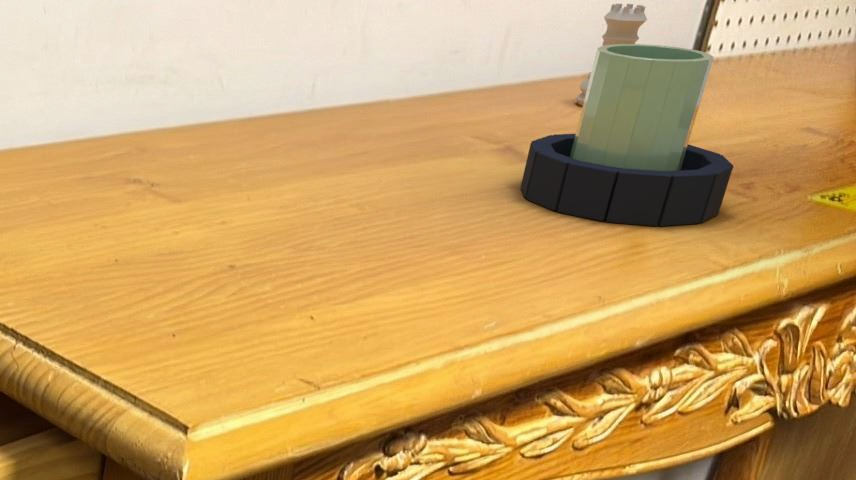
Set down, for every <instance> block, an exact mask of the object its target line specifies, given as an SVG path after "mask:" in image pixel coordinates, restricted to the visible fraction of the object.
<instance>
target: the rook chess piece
mask: <svg viewBox="0 0 856 480" xmlns="http://www.w3.org/2000/svg"><path fill="white" fill-rule="evenodd" d="M645 10H646V6H644V5H643V4H637V5H636V6H635V7H634V3H626V5H625V6H623V3H612V4H611V7H610V11H608V12H607V13H606V14H605V15H604V16H603V19H604V21H605V24H606V25H607V26H606V31H605V33H604V34H603V35H601V38H602V39H603V41H602V45H601V46H604V45H613V44H636V42H637V41H639V39H640V37H639V36H638V35H639V34H638V32H639V29H640V27H642V25H644V23H646V21H648V18H647V16H646V14H645ZM587 74H588V76H587V77H586V78H585V79H584V80H582V81H581V83H580V85H579V90H580V91H581V93H580V94H578V95H576V97H575V99H576V101H577V104H578V105H579V106H580V107H583V103H584V99H585V95H586V91H587V87H588V83H589V79H590V75H591V71H590V72H588V73H587Z"/></svg>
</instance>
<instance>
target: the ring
mask: <svg viewBox="0 0 856 480" xmlns="http://www.w3.org/2000/svg"><path fill="white" fill-rule="evenodd" d="M575 135H576V133H560V134H559V133H558V134H549V135H546V136H543V137H540V138H537V139H534V140H531V142H530V145H529V149H528V153H527V158H526V162H525V166H524V170H523V174H522V179H521V184H520V190H521V192H522V195H523V196H524V199H526V200H527V201H529V202H532V203H534V204H536V205H539V206H541V207H543V208H547V209H548V210H550V211H554V212H557V213H561V214H565V215H570V216H574V217H579V218H584V219H588V220H593V221H597V222H598V221H599V222H604V221H605V222H606V223H610V224H625V225H635V226H636V225H637V226H648V227H657V226H658V227H669V226H682V225H683V226H684V225H697V224H699V225H700V224H702V223H705V222H707V221H708V220H710V219H712V218H714V217H716V216H718V215H719V213H720V210H721V207H722V204H723V201H724V197H725V195H726V192H727V188H728V185H729V181H730V178H731V175H732V172H733V169H734V164H733V163H731V162H730V161H729V160H728V159H727V158H726V157H725V156H724V155H723V154H721V153H718V152H716V151H711V150H709V149H705V148H701V147H699V146H695V145H692V144H689V143H688V145H687V149H686V152H685V156H684V159H683V162H682V166H681V169H680V171H652V170H639V169H625V168H616V167H611V166H605V165H599V164H594V163H588V162H583V161H578V160H576V159H573V158H570V155H571V151H572V147H573V143H574V139H575Z"/></svg>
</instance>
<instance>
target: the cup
mask: <svg viewBox="0 0 856 480" xmlns="http://www.w3.org/2000/svg"><path fill="white" fill-rule="evenodd" d="M714 58H715V57H714V56H713V55H712V54H710V53H708V52H705V51H701V50H698V49H691V48H686V47H679V46H670V45H659V44H658V45H657V44H644V43H643V44H640V43H639V44H638V43H635V44H613V45H604V46H602V45H601V46H599V47H597V49H596V51H595V56H594V60H593V65H592V68H591V71H590V72H591V75H590V79H589V83H588V87H587V91H586V95H585V99H584V103H583V106H581V111H580V115H579V118H578V119H579V120H578V123H577V127H576V131H575V134H576V135H575V139H574V143H573V147H572V151H571V155H570V158H573V159H576V160H578V161H583V162H588V163H594V164H599V165H605V166H611V167H616V168H625V169H639V170H652V171H680V169H681V166H682V162H683V159H684V156H685V152H686V149H687V145H688V144H689V142H690V138H691V135H692V131H693V128H694V125H695V121H696V118H697V116H698V112H699V109H700V105H701V102H702V98H703V95H704V91H705V88H706V85H707V83H708V78H709V74H710V71H711V68H712V65H713V61H714Z"/></svg>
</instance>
